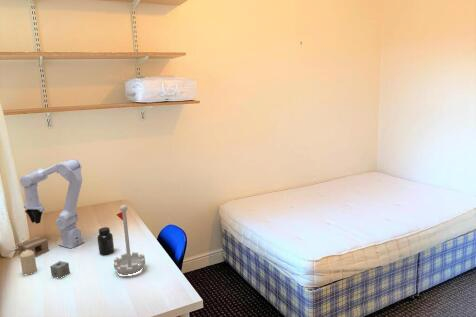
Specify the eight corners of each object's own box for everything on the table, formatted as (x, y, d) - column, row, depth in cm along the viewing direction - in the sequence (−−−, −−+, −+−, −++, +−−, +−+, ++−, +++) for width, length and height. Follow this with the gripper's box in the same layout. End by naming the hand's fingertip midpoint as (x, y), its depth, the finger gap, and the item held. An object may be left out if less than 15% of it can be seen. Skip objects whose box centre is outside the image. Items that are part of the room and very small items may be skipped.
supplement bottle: (114, 248, 184) (111, 225, 182) (114, 253, 178) (111, 230, 176) (99, 250, 182) (96, 227, 180) (99, 256, 176) (96, 233, 173)
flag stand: (152, 267, 165) (146, 202, 158) (129, 281, 154) (122, 212, 147) (130, 260, 171) (124, 198, 165) (108, 273, 160) (100, 207, 154)
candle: (21, 276, 161) (17, 254, 159) (24, 269, 166) (21, 249, 164) (35, 273, 162) (31, 252, 160) (38, 267, 168) (34, 247, 165)
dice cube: (61, 271, 164) (59, 260, 163) (69, 273, 162) (68, 262, 161) (51, 277, 159) (50, 266, 158) (60, 279, 158) (58, 268, 156)
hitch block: (49, 250, 184) (47, 239, 183) (29, 259, 175) (27, 247, 174) (38, 247, 188) (36, 236, 186) (19, 256, 179) (17, 244, 178)
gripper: (48, 196, 190) (52, 221, 193) (30, 193, 197) (34, 217, 200) (35, 201, 184) (39, 226, 187) (17, 197, 191) (21, 222, 194)
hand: (36, 222), depth 193 cm, fingers open, 3 cm apart
